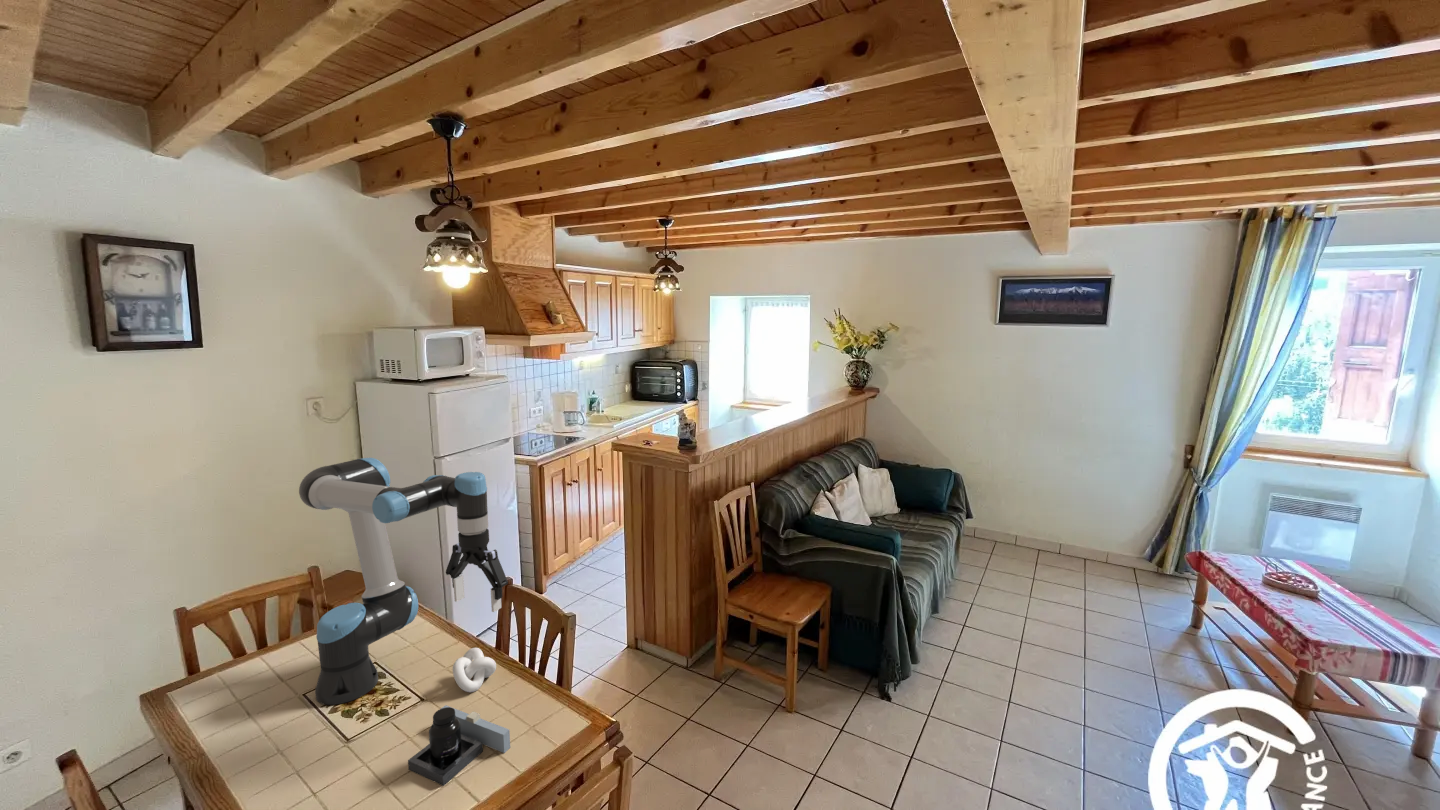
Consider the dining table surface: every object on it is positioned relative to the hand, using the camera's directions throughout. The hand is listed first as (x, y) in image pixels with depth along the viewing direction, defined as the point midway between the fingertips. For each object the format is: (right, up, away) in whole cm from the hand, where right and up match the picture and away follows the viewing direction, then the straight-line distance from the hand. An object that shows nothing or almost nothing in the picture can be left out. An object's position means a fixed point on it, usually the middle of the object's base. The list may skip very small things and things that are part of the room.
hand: (477, 604), depth 154 cm
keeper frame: (0, -32, -18) cm, 36 cm away
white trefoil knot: (-6, -28, +12) cm, 30 cm away
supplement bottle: (0, -31, -18) cm, 36 cm away
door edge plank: (+3, -30, -10) cm, 32 cm away
